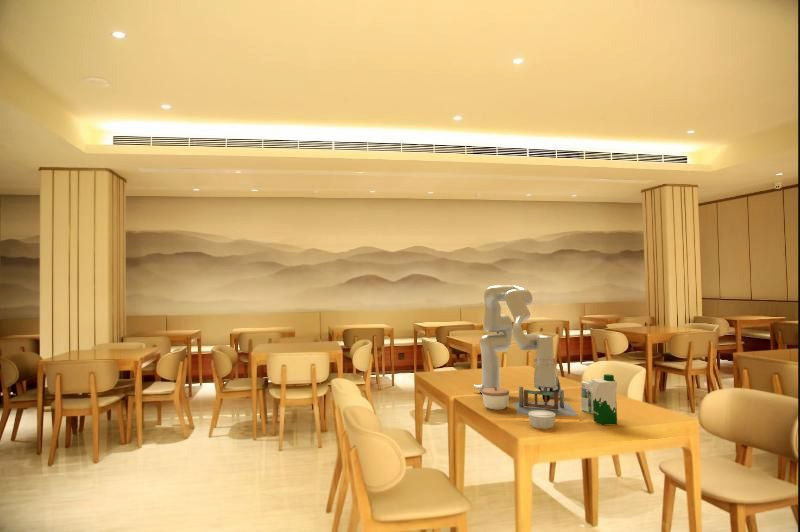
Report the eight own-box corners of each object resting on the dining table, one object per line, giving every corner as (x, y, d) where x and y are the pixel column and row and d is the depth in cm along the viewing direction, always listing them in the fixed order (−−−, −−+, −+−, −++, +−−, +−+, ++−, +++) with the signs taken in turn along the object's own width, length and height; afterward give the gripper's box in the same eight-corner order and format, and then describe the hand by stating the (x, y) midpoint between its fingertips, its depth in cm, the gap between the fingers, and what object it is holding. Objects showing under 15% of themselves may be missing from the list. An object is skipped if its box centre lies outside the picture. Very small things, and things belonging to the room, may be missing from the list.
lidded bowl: (493, 414, 240) (493, 390, 240) (477, 408, 251) (476, 385, 252) (515, 410, 246) (514, 387, 246) (498, 405, 257) (497, 382, 257)
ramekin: (544, 431, 213) (543, 418, 213) (522, 425, 222) (522, 412, 222) (561, 426, 219) (561, 413, 219) (540, 421, 228) (539, 408, 228)
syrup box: (581, 413, 239) (580, 381, 240) (591, 412, 242) (590, 380, 242) (589, 416, 234) (589, 383, 235) (600, 414, 236) (599, 382, 237)
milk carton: (620, 425, 220) (619, 376, 220) (599, 425, 219) (598, 377, 219) (610, 419, 228) (609, 373, 229) (590, 420, 228) (589, 373, 228)
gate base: (517, 417, 235) (517, 393, 235) (513, 404, 258) (513, 383, 259) (578, 418, 231) (577, 394, 231) (568, 405, 255) (567, 383, 255)
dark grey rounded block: (562, 396, 274) (561, 367, 274) (559, 400, 264) (558, 370, 265) (542, 395, 278) (541, 366, 279) (538, 399, 269) (538, 369, 269)
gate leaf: (524, 406, 248) (523, 390, 248) (525, 405, 249) (524, 389, 249) (557, 409, 240) (557, 393, 240) (558, 408, 241) (558, 392, 242)
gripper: (527, 362, 247) (528, 401, 246) (559, 364, 239) (560, 405, 238) (532, 360, 253) (533, 398, 253) (563, 362, 245) (564, 401, 245)
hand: (546, 401), depth 246 cm, fingers closed
